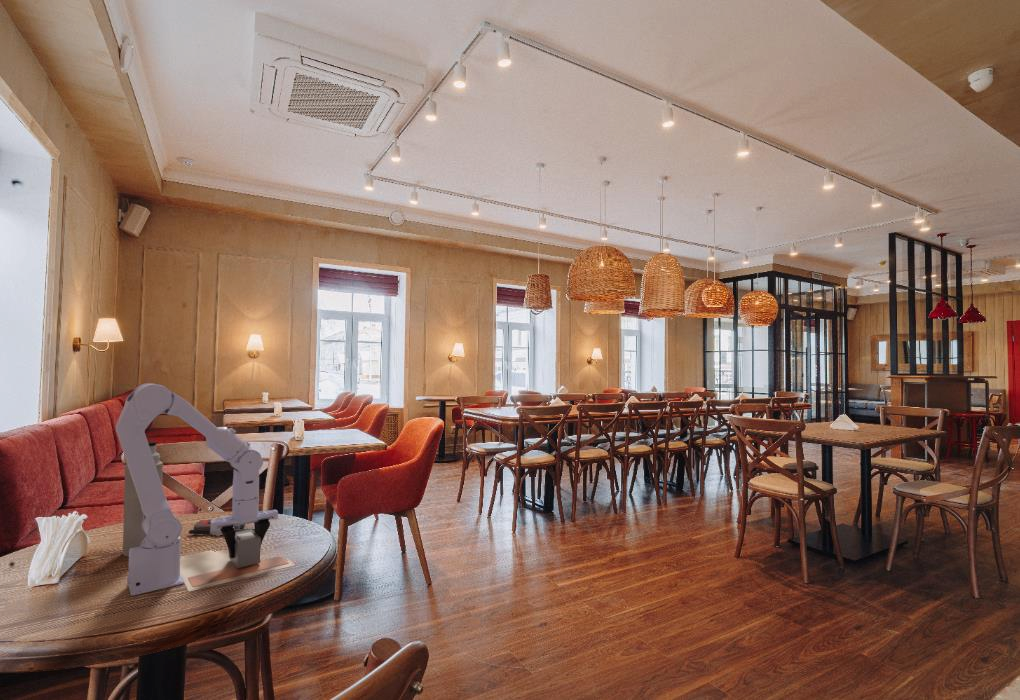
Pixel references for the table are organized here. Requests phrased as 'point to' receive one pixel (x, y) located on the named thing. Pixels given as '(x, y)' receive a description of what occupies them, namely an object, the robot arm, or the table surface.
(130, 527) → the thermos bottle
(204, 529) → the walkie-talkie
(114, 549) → the table surface
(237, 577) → the subfloor panel
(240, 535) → the block
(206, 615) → the table surface
